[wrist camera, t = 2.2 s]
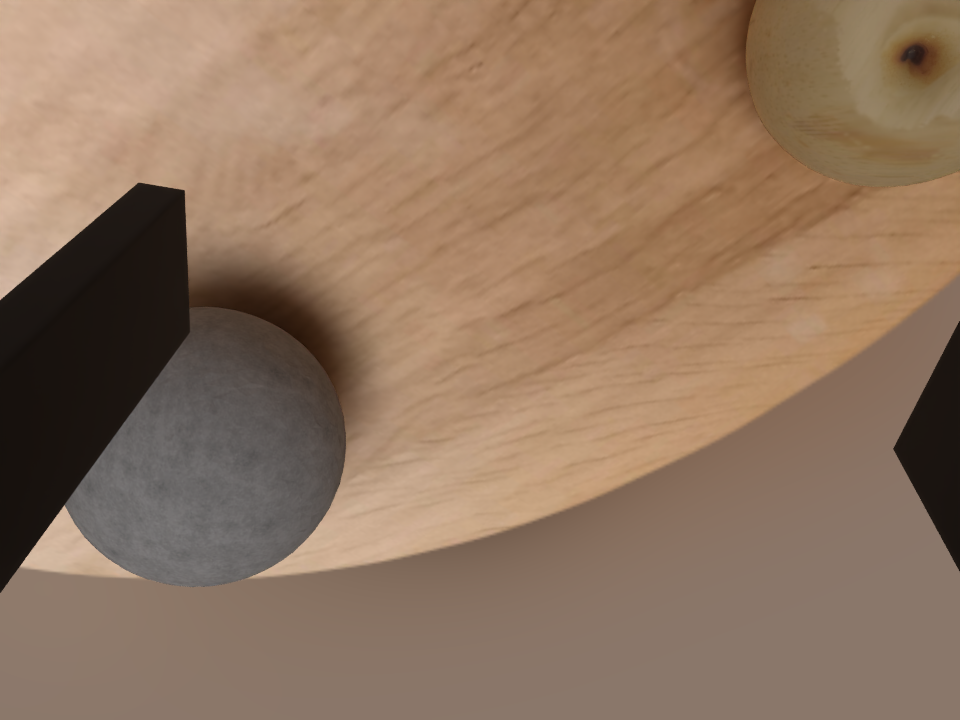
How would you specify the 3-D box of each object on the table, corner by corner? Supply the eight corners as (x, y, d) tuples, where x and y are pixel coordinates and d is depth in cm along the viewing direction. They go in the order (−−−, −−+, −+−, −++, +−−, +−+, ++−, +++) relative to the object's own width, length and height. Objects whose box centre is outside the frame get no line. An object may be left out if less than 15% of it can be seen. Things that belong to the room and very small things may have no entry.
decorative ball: (172, 472, 38) (66, 654, 30) (90, 273, 33) (-66, 424, 25) (388, 458, 37) (341, 643, 29) (338, 248, 32) (262, 399, 24)
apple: (943, 178, 29) (882, 285, 24) (750, 41, 30) (654, 116, 25) (1159, -38, 23) (1136, 45, 18) (907, -198, 24) (821, -160, 19)
